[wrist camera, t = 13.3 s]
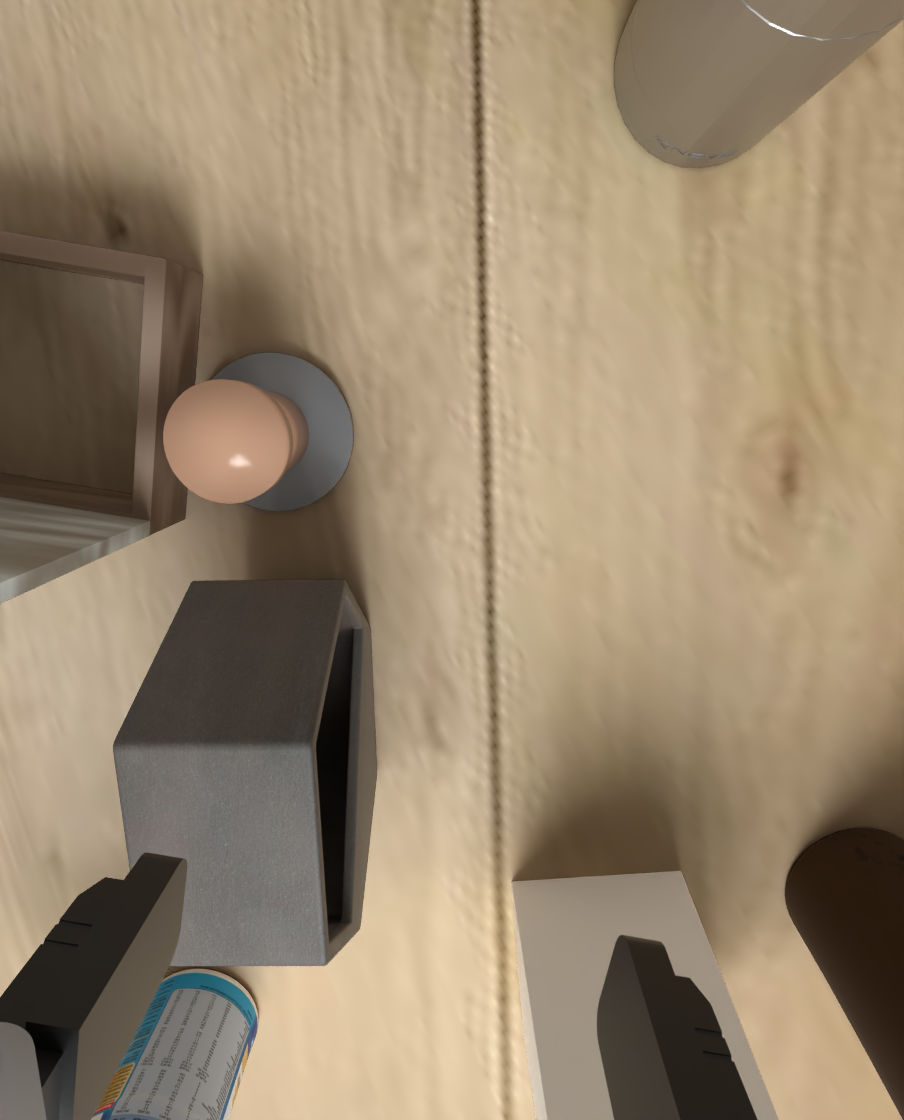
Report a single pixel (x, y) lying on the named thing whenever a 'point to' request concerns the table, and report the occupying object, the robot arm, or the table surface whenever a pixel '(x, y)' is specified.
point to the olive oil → (858, 937)
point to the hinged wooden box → (165, 373)
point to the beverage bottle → (185, 1052)
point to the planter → (257, 769)
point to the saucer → (324, 422)
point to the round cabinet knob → (233, 439)
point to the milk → (579, 974)
